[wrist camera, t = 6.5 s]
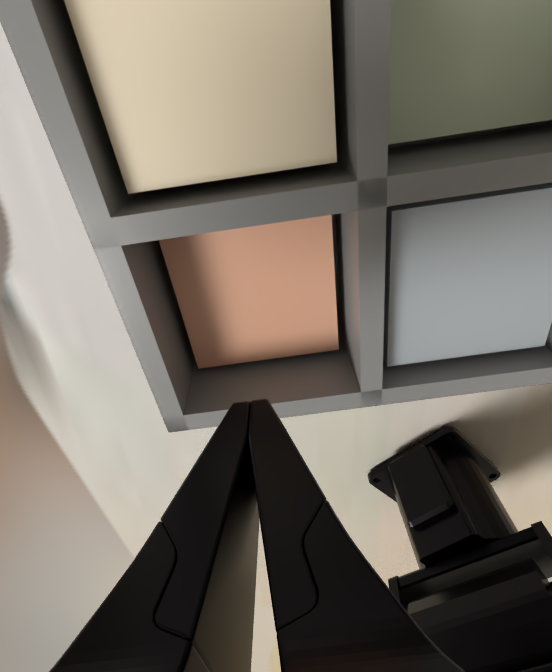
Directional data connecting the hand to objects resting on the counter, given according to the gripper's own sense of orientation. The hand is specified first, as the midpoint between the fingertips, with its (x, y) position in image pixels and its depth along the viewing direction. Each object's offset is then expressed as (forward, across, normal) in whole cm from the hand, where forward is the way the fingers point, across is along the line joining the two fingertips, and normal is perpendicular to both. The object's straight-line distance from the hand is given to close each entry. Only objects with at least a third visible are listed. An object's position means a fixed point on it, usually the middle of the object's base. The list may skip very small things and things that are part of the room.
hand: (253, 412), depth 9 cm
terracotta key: (+8, 0, 0) cm, 8 cm away
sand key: (+6, 0, -7) cm, 10 cm away
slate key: (+6, -8, 0) cm, 10 cm away
